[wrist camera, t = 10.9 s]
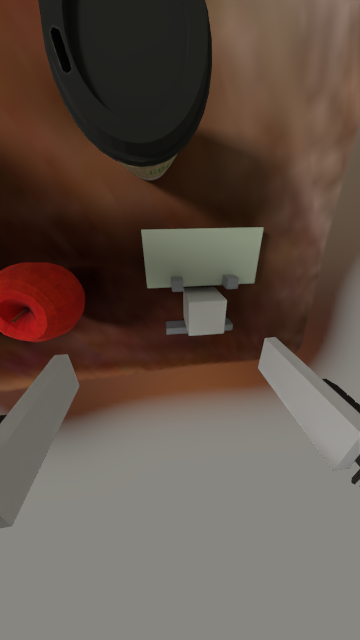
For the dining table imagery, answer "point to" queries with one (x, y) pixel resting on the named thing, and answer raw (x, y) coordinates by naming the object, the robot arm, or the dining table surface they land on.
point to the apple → (39, 301)
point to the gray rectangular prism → (204, 310)
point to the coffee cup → (131, 74)
